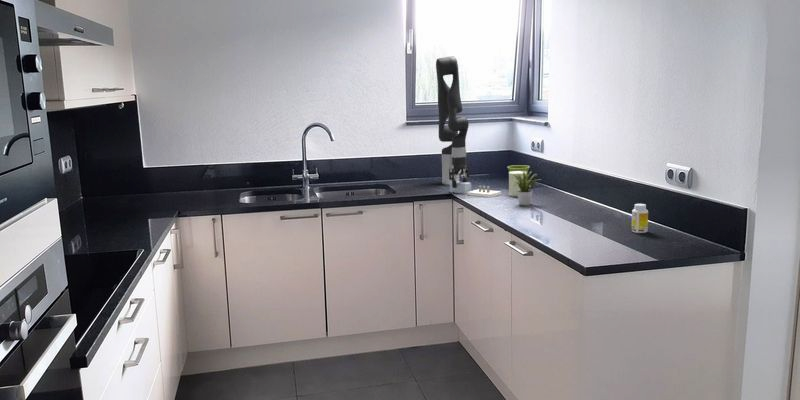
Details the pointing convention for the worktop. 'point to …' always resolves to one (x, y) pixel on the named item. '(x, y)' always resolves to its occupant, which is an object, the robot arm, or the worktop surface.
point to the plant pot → (518, 168)
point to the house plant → (524, 188)
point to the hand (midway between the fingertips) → (459, 186)
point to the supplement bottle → (640, 218)
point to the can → (512, 179)
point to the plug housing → (461, 187)
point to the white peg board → (484, 192)
